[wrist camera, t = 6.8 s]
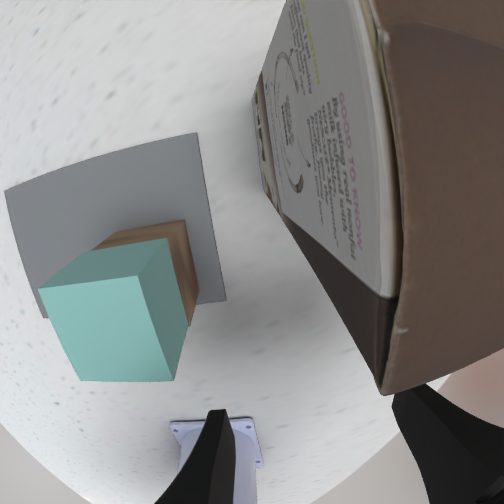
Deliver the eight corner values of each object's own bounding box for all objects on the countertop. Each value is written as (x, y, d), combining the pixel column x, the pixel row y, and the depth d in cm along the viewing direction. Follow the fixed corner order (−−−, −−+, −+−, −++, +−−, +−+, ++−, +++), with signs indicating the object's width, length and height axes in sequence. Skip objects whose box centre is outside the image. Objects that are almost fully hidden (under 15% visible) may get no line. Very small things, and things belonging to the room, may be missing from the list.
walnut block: (199, 289, 20) (190, 326, 16) (134, 297, 20) (112, 332, 16) (184, 219, 18) (168, 240, 14) (116, 231, 18) (85, 254, 14)
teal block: (188, 323, 16) (173, 380, 11) (110, 330, 16) (80, 380, 11) (166, 237, 14) (137, 275, 10) (83, 252, 14) (37, 288, 10)
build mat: (226, 298, 20) (226, 300, 20) (45, 316, 21) (43, 318, 20) (197, 132, 17) (196, 132, 17) (6, 190, 17) (4, 190, 17)
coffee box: (264, 198, 18) (359, 415, 3) (250, 96, 16) (298, -119, 1) (397, 185, 18) (615, 280, 3) (388, 92, 16) (613, 54, 1)
